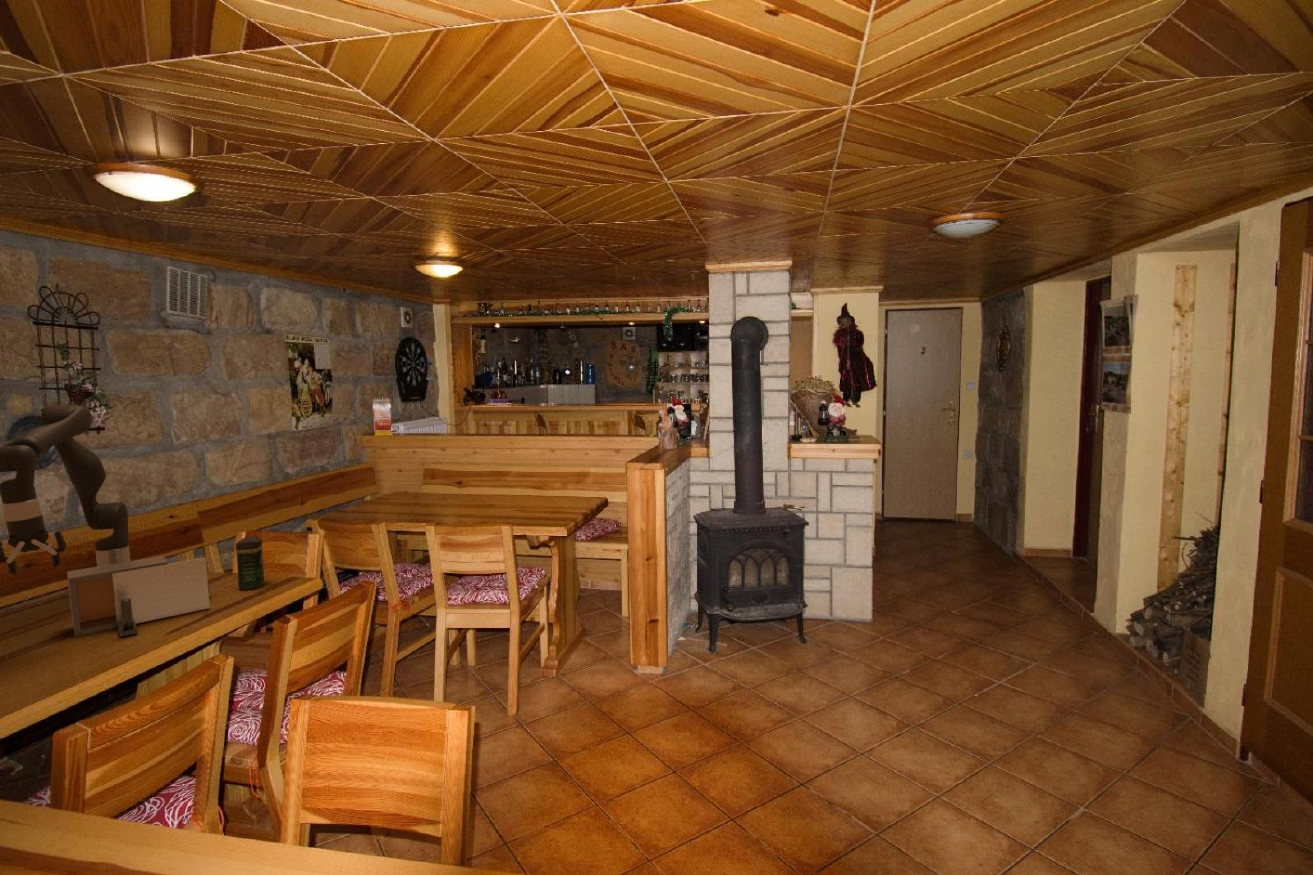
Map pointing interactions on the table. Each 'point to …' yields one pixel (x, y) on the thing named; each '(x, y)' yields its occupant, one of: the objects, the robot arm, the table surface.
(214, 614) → the table surface
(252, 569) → the coffee jar
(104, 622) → the block
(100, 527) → the robot arm
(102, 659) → the table surface
